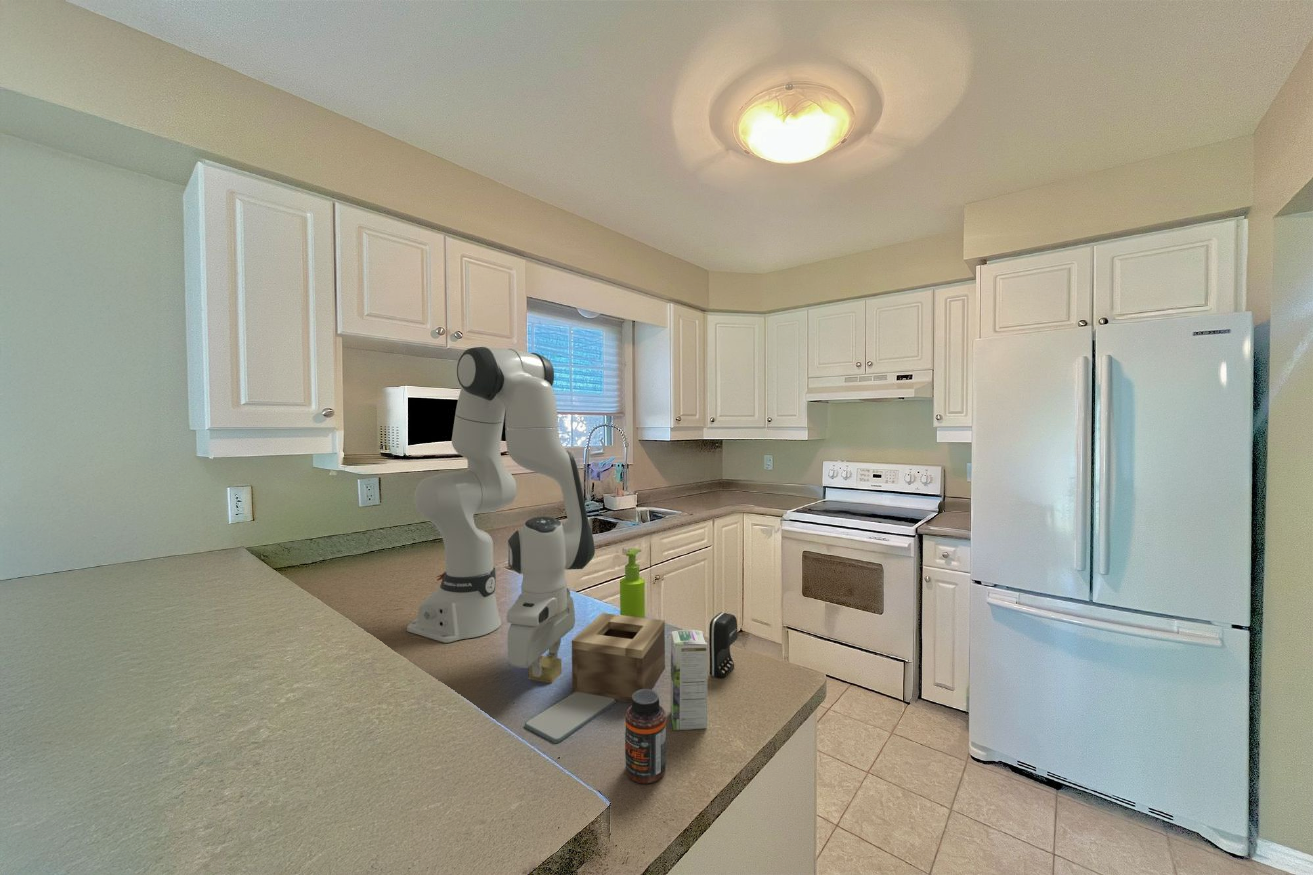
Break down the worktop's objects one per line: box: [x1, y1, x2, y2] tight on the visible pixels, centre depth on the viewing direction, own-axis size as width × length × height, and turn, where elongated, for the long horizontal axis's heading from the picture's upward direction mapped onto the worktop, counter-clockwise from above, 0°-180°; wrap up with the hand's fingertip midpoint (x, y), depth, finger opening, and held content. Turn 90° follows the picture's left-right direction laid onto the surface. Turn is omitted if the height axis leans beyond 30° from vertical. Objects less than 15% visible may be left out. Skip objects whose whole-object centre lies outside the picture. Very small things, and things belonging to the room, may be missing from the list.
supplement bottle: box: [624, 689, 667, 784], centre depth 73 cm, size 6×6×11 cm
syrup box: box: [670, 629, 709, 731], centre depth 86 cm, size 6×6×14 cm
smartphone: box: [524, 692, 617, 744], centre depth 88 cm, size 8×1×15 cm
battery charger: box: [708, 612, 739, 679], centre depth 102 cm, size 7×4×11 cm, turn 149°
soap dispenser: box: [619, 548, 646, 618], centre depth 121 cm, size 6×7×20 cm
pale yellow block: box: [528, 655, 563, 684], centre depth 101 cm, size 5×4×3 cm
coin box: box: [571, 612, 666, 704], centre depth 99 cm, size 14×14×10 cm
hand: (545, 668), depth 101 cm, fingers closed on pale yellow block, 4 cm apart
